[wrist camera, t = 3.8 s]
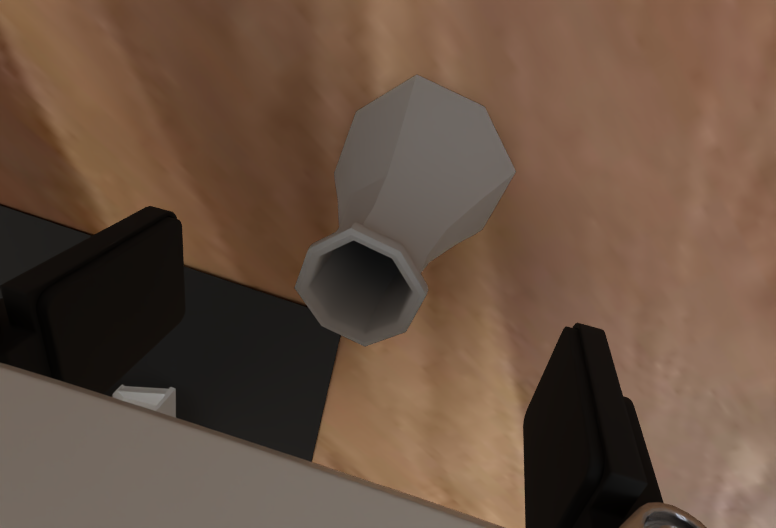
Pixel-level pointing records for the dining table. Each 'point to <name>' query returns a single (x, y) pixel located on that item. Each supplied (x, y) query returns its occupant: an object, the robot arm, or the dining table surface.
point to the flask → (402, 206)
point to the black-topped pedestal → (213, 351)
